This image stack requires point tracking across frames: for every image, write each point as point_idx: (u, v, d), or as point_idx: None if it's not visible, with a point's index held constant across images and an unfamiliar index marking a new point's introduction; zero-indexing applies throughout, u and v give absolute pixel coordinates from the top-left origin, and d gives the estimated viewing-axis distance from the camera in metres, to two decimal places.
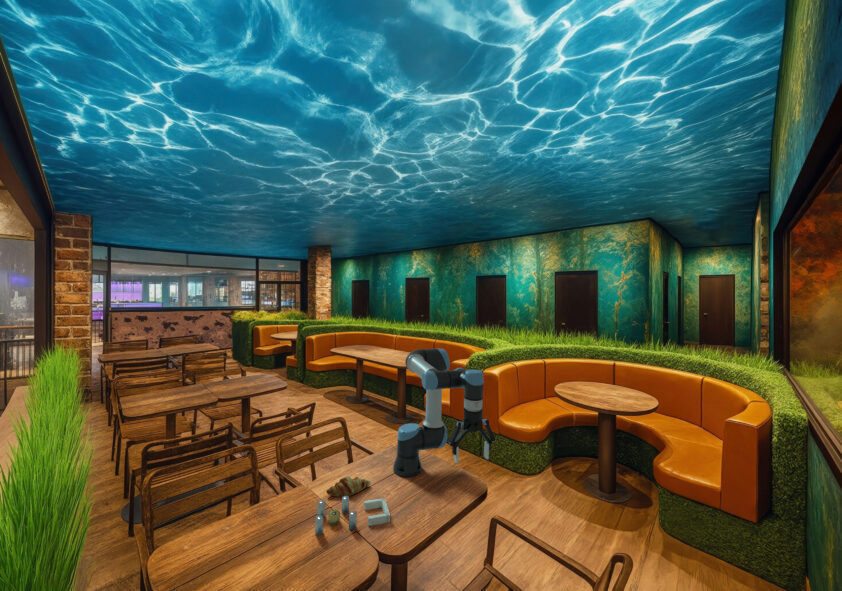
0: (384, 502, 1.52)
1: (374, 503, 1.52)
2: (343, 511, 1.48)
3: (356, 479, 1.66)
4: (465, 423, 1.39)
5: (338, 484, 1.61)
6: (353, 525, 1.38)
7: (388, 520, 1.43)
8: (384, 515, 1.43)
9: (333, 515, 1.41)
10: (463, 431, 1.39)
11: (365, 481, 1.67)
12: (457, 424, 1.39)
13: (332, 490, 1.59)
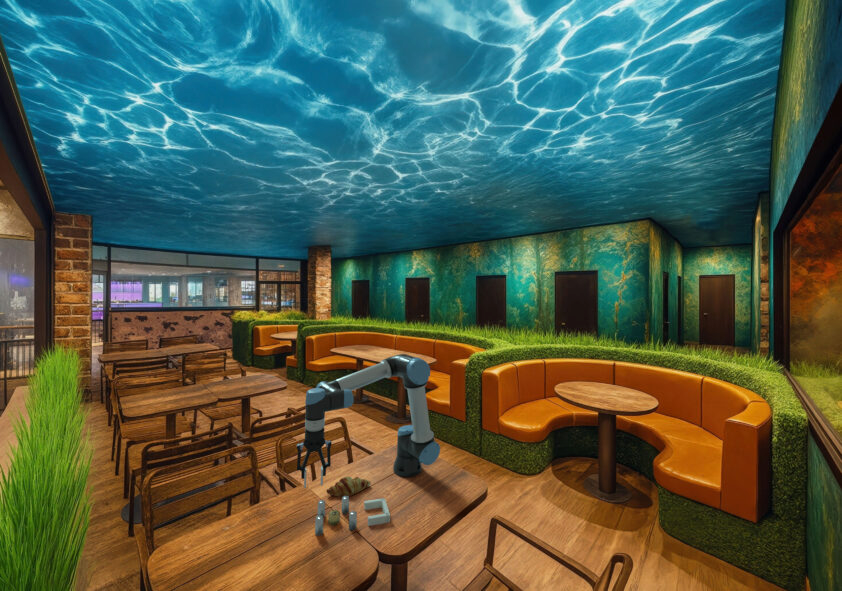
0: (384, 502, 1.52)
1: (374, 503, 1.52)
2: (343, 511, 1.48)
3: (356, 479, 1.66)
4: (304, 444, 1.37)
5: (338, 484, 1.62)
6: (353, 525, 1.38)
7: (388, 520, 1.43)
8: (384, 515, 1.43)
9: (333, 515, 1.41)
10: (306, 453, 1.38)
11: (365, 481, 1.67)
12: (297, 448, 1.37)
13: (332, 490, 1.60)
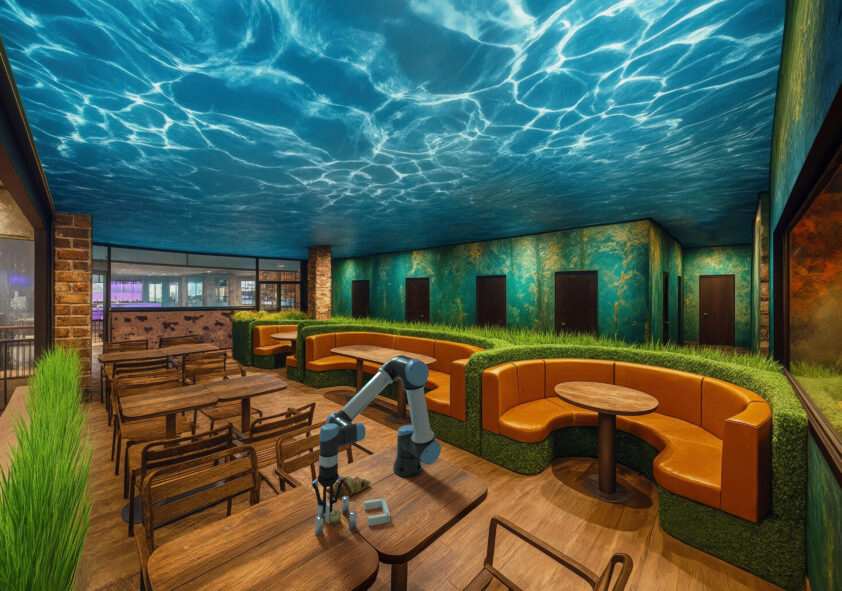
0: (384, 502, 1.52)
1: (374, 503, 1.52)
2: (343, 511, 1.48)
3: (356, 479, 1.66)
4: (318, 480, 1.39)
5: None
6: (353, 525, 1.38)
7: (388, 520, 1.43)
8: (384, 515, 1.43)
9: (333, 515, 1.41)
10: (323, 489, 1.41)
11: (365, 481, 1.67)
12: None
13: None
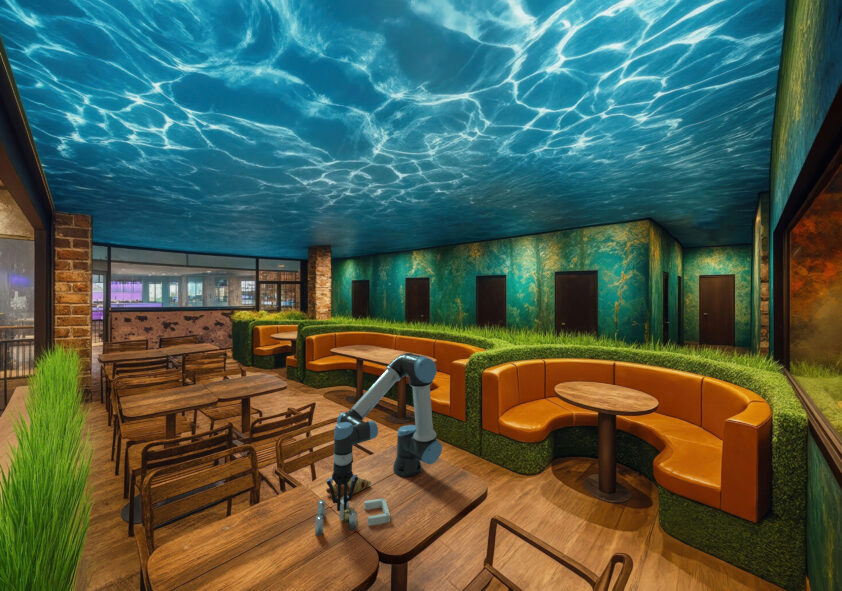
0: (384, 502, 1.52)
1: (374, 503, 1.52)
2: None
3: None
4: (333, 478, 1.41)
5: None
6: (353, 525, 1.38)
7: (388, 520, 1.43)
8: (384, 515, 1.43)
9: (348, 513, 1.43)
10: (337, 486, 1.42)
11: (365, 481, 1.67)
12: None
13: None
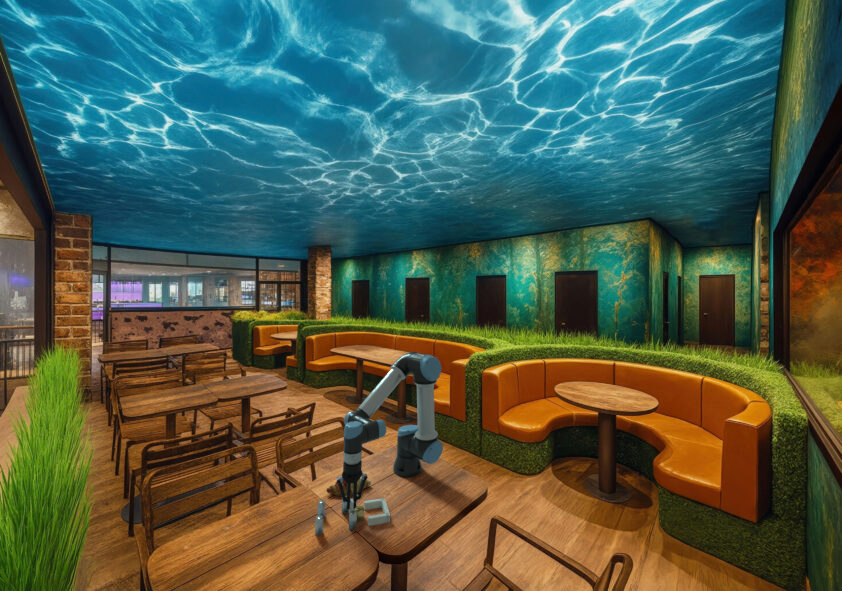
0: (384, 502, 1.52)
1: (374, 503, 1.52)
2: (343, 511, 1.48)
3: None
4: (343, 476, 1.42)
5: None
6: (353, 525, 1.38)
7: (388, 520, 1.43)
8: (384, 515, 1.43)
9: (357, 511, 1.44)
10: (347, 485, 1.43)
11: (365, 481, 1.67)
12: None
13: (332, 489, 1.60)
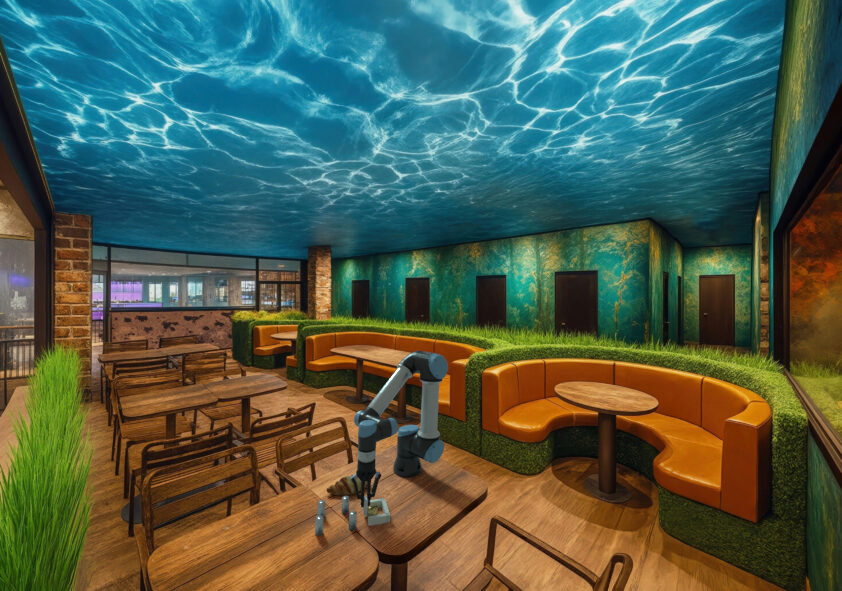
0: (384, 502, 1.52)
1: (374, 503, 1.52)
2: (343, 511, 1.48)
3: None
4: (357, 474, 1.44)
5: (338, 483, 1.62)
6: (353, 525, 1.38)
7: (388, 520, 1.43)
8: (384, 515, 1.43)
9: (371, 509, 1.46)
10: (361, 483, 1.45)
11: (365, 481, 1.67)
12: None
13: (332, 489, 1.60)
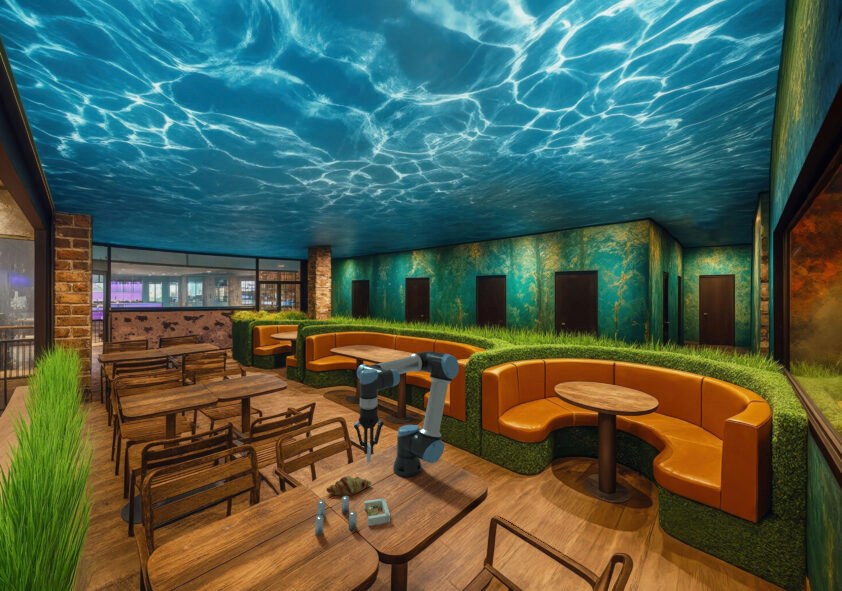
0: (384, 502, 1.52)
1: (374, 503, 1.52)
2: (343, 511, 1.48)
3: (356, 479, 1.66)
4: (360, 421, 1.45)
5: (338, 483, 1.62)
6: (353, 525, 1.38)
7: (388, 520, 1.43)
8: (384, 515, 1.43)
9: (372, 509, 1.46)
10: (364, 430, 1.46)
11: (366, 481, 1.67)
12: None
13: (332, 489, 1.61)
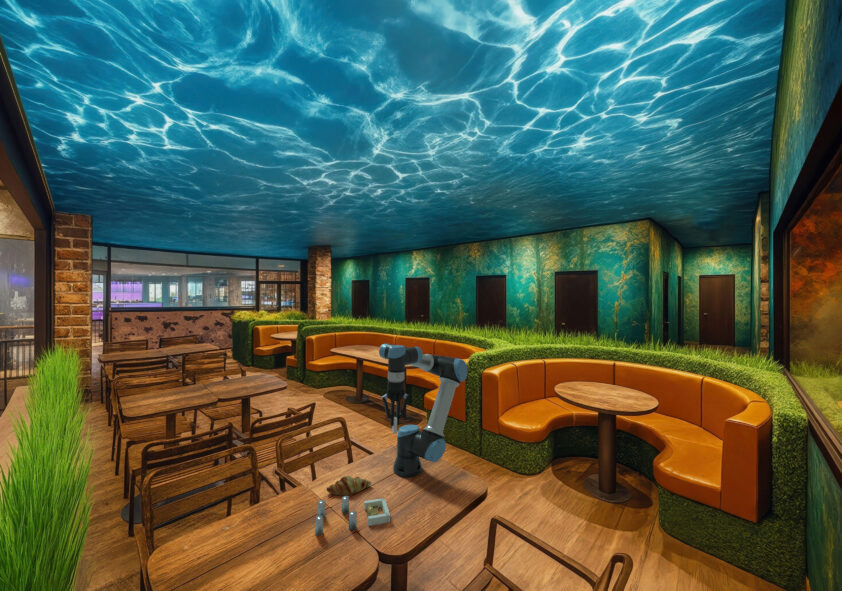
0: (384, 502, 1.52)
1: (374, 503, 1.52)
2: (343, 511, 1.48)
3: (356, 479, 1.66)
4: (387, 394, 1.53)
5: (338, 483, 1.63)
6: (353, 525, 1.38)
7: (388, 520, 1.43)
8: (384, 515, 1.43)
9: (372, 509, 1.46)
10: (391, 403, 1.54)
11: (366, 481, 1.67)
12: (382, 399, 1.53)
13: (332, 488, 1.61)
